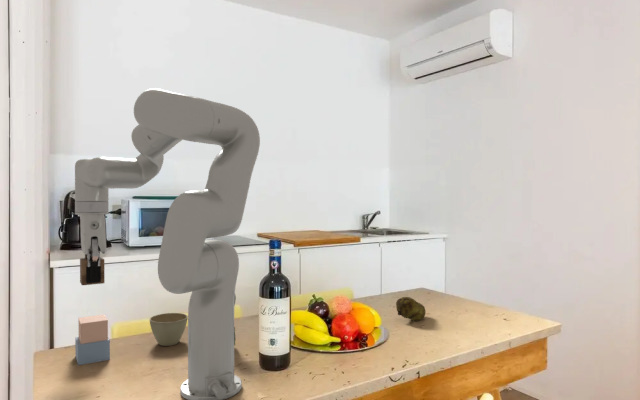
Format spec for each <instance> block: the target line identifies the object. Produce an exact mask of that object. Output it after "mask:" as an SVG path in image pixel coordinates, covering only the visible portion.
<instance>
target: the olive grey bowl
mask: <svg viewBox="0 0 640 400" xmlns="http://www.w3.org/2000/svg"><path fill="white" fill-rule="evenodd" d="M187 324H188V314H185V313H181V312H166V313H161V314H160V313H159V314H155V315H152V316H150V317H149V325H150V329H151V332H152V334H153V336H154V339H155V340H156V342H157V344H158V345H159V346H162V347H168V346H169V347H171V346H174V344H175V345H177V344H178V343H179V342H180V340H181V339H182V336H183V335H184V332H185V329H186V327H187Z"/></svg>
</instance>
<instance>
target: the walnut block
mask: <svg viewBox="0 0 640 400" xmlns="http://www.w3.org/2000/svg"><path fill="white" fill-rule="evenodd" d="M100 266H101V282H97V283H87V282H86V267H87V258H85V257H82V258H80V259H79V275H80V276H79V283H80V284H81V286H87V285H88V286H89V285H102V284H105V258H103V256H100Z"/></svg>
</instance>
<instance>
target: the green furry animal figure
mask: <svg viewBox="0 0 640 400" xmlns="http://www.w3.org/2000/svg"><path fill="white" fill-rule="evenodd" d="M395 307H396V312H397V315H398V316H401V317H402V318H404V319H408V320H411V321H415V322H416V321H417V320H418V321H420V320H421V321H422V320H423V319H424V318H425V316H426V307H425V306H424V305H423V304H422V303H420V302H417V301H416V300H415V299H414V298H412V297H410V296H402V297H400V298H399V299H397V300H396V302H395Z"/></svg>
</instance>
